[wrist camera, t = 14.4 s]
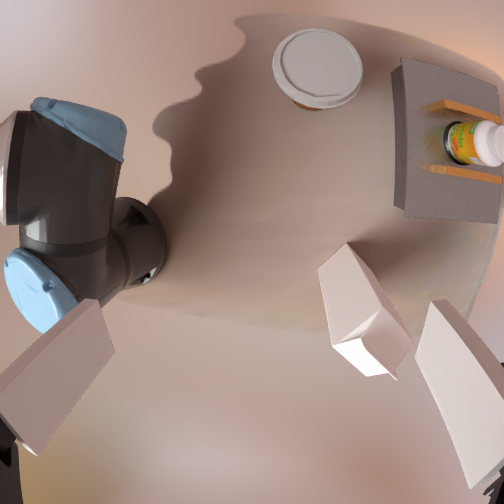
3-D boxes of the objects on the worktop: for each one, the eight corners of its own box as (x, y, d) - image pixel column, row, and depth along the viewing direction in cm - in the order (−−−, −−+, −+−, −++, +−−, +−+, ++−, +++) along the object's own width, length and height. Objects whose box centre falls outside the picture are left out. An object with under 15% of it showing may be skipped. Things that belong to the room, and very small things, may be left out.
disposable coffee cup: (267, 106, 35) (256, 85, 24) (291, 51, 32) (290, 13, 21) (331, 133, 35) (348, 122, 24) (354, 76, 32) (377, 47, 21)
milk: (341, 294, 42) (371, 400, 22) (316, 268, 42) (333, 369, 21) (371, 268, 40) (425, 362, 20) (346, 241, 40) (393, 325, 19)
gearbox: (390, 208, 37) (418, 224, 28) (387, 69, 30) (412, 47, 21) (476, 215, 35) (512, 231, 25) (476, 91, 28) (511, 83, 19)
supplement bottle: (450, 116, 26) (494, 109, 17) (478, 134, 26) (523, 133, 17) (442, 153, 28) (487, 155, 19) (471, 169, 28) (516, 177, 18)
